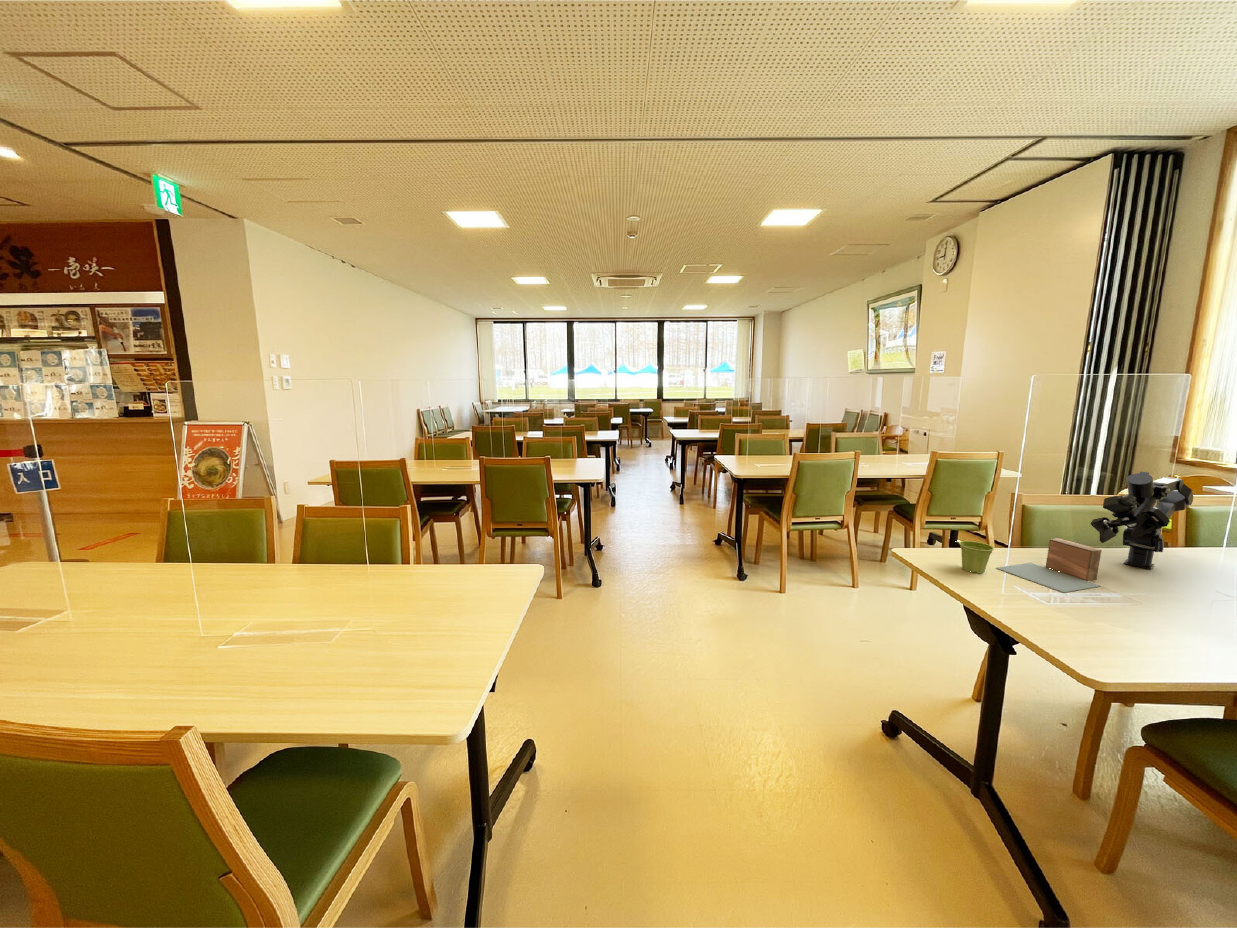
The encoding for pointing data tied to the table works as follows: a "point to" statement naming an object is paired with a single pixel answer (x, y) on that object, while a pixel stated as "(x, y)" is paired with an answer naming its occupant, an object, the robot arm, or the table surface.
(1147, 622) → the table surface
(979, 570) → the plant pot
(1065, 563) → the walnut block
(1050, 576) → the mat
